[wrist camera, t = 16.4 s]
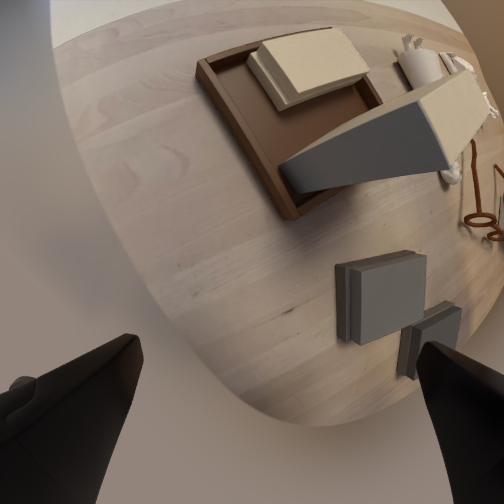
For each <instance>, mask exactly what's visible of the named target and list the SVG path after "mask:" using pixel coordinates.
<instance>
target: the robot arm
mask: <svg viewBox="0 0 504 504" xmlns="http://www.w3.org/2000/svg"><path fill="white" fill-rule="evenodd" d="M142 365H143V352H142V348H141V343H140V339H139V337H138V336H137V335H134V334H127V333H126V334H123V335H121V336H119V337H118V338H115V339H113V340H112V341H109V342H107V343H106V344H104V345H102V346H100V347H98V348H96V349H94V350H92V351H90V352H88V353H86V354H84V355H82V356H80V357H78V358H76V359H74V360H72V361H70V362H68V363H66V364H64V365H62V366H60V367H58V368H56V369H54V370H52V371H50V372H48V373H46V374H44V375H42V376H40V377H38V378H37V379H33V380H31V381H29V382H27V383H25V384H23V385H21V386H19V387H16V388H14V389H12V390H9V391H7V392H4V393H1V394H0V504H95V503H96V500H97V497H98V494H99V490H100V488H101V485H102V482H103V479H104V476H105V473H106V470H107V467H108V464H109V462H110V459H111V456H112V453H113V450H114V448H115V445H116V442H117V440H118V437H119V435H120V432H121V429H122V427H123V424H124V422H125V419H126V417H127V414H128V412H129V409H130V406H131V404H132V401H133V397H134V394H135V390H136V386H137V383H138V379H139V375H140V372H141V369H142ZM416 370H417V374H418V377H419V381H420V384H421V388H422V392H423V395H424V399H425V403H426V406H427V409H428V412H429V415H430V418H431V420H432V423H433V426H434V429H435V433H436V436H437V439H438V442H439V445H440V449H441V452H442V456H443V459H444V462H445V467H446V470H447V474H448V478H449V482H450V487H451V492H452V496H453V502H454V504H504V375H503V374H501V373H499V372H497V371H495V370H493V369H491V368H489V367H487V366H485V365H483V364H481V363H479V362H477V361H475V360H473V359H471V358H469V357H467V356H465V355H463V354H461V353H459V352H457V351H455V350H453V349H451V348H449V347H447V346H445V345H443V344H441V343H439V342H437V341H427V342H425V343H424V344H423V346H422V348H421V351H420V353H419V355H418V358H417V360H416Z"/></svg>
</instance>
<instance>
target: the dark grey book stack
mask: <svg viewBox="0 0 504 504" xmlns="http://www.w3.org/2000/svg"><path fill="white" fill-rule="evenodd" d="M454 305H455V303H452V302H449V301H445V302H443V303H441V304H439V305H437V306H434V307H432V308H430V309H428V310H426V311H424V315H423V319H421V320H419V321H417V322H415V323H413V324H411V325H409V326H407V327H404V328H402V334H401V344H400V352H399V359H398V366H397V372H399V373H401V374H402V375H404V376H407V377H409V378H410V379H412V380H413V381H414V380H416V379H417V378H419V377H418V374H417V370H416V360H417V358H418V355H419V353H420V351H421V348H422V346H423V344H424V343H425V342H427V341H437V342H439V343H441V344H443V345H445V346H447V347H449V348H451V349H453V350H455V347H456V342H457V337H458V331H459V325H460V319H461V312H462V308H459V307H456V306H454Z"/></svg>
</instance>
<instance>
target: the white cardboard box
mask: <svg viewBox="0 0 504 504" xmlns="http://www.w3.org/2000/svg"><path fill="white" fill-rule="evenodd" d="M499 227H500V228H501V230H504V204H503V196H501V204H500V217H499ZM503 235H504V234H503Z"/></svg>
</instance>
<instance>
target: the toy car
mask: <svg viewBox="0 0 504 504" xmlns="http://www.w3.org/2000/svg"><path fill="white" fill-rule="evenodd" d="M440 56H441V58H442V59H443V61H444V63H445V64H446V66H447V68H448V70H449V72H450V74H454V73H457V72H459V71H462V70H465V69H467V68H468V69H470V71H471V73H472V74H473V76H474V70H473V68H472V66H471V65H470V64H469V63H467V62H466V61H465V60H463V59H462V58H459V57H457V55H456V54H455V53H451V52H440ZM449 56H452V58H451V57H449ZM449 58H450V59H452V60H453V63H452V61H451V60H450V59H449ZM453 64H454V65H453ZM474 78H475V80H476V78H477V76H476V75H475V76H474ZM482 94H483V96H484V98H485V100H486V102H487V104H488V107H489V109H490V114H489V116H490V118H491V119H493V118H494V119H496V117H495V116H496V115H497V116H498V117H499V114H498V111H497V110H495V109H494V108H492V107H491V106H490V103H489V101H488V99H487V97H486V96H485V95H487V93H486V92H482ZM494 115H495V116H494Z"/></svg>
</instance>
